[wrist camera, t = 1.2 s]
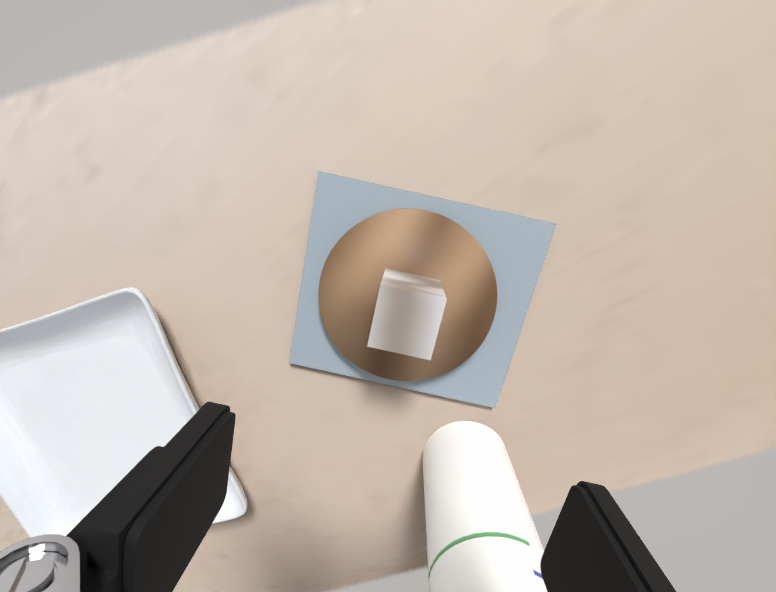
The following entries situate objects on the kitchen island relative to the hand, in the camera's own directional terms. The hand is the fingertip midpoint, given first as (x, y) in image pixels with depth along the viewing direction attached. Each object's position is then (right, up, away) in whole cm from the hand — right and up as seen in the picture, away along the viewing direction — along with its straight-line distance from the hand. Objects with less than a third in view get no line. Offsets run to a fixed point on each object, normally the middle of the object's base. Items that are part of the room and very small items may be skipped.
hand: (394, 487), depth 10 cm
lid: (+1, +5, +18) cm, 19 cm away
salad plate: (-25, -6, +24) cm, 35 cm away
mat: (+2, +5, +19) cm, 20 cm away
